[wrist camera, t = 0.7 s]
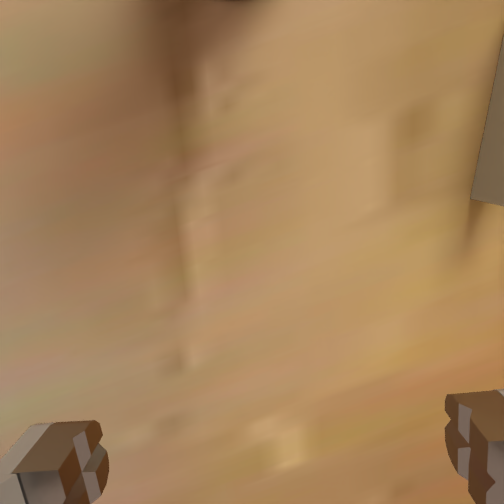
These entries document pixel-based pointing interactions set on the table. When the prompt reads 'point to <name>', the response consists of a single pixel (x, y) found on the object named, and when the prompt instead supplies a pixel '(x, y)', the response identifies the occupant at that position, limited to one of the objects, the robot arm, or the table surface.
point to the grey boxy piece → (492, 146)
